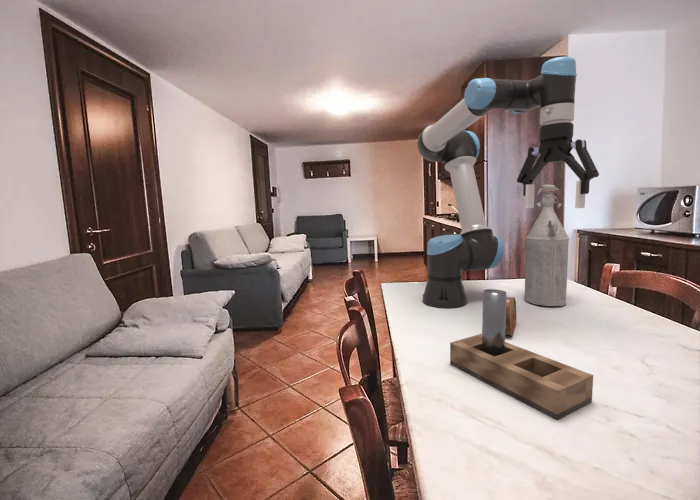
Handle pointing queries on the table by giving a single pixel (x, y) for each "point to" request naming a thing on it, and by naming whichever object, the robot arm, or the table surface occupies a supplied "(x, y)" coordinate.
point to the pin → (493, 322)
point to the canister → (546, 255)
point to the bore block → (525, 376)
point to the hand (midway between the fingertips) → (553, 208)
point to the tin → (510, 316)
